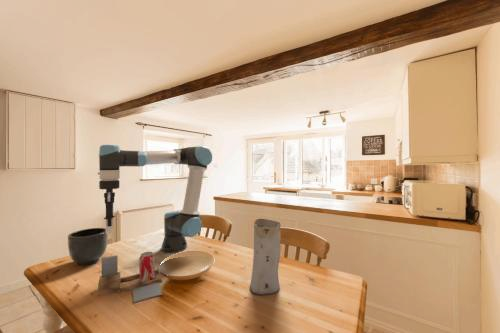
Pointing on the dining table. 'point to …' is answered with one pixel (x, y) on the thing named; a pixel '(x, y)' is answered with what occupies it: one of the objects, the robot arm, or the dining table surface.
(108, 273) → the blue-grey rectangular panel
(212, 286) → the dining table surface
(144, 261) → the beverage can
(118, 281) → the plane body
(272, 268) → the vase
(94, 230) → the planter
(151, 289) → the mat
